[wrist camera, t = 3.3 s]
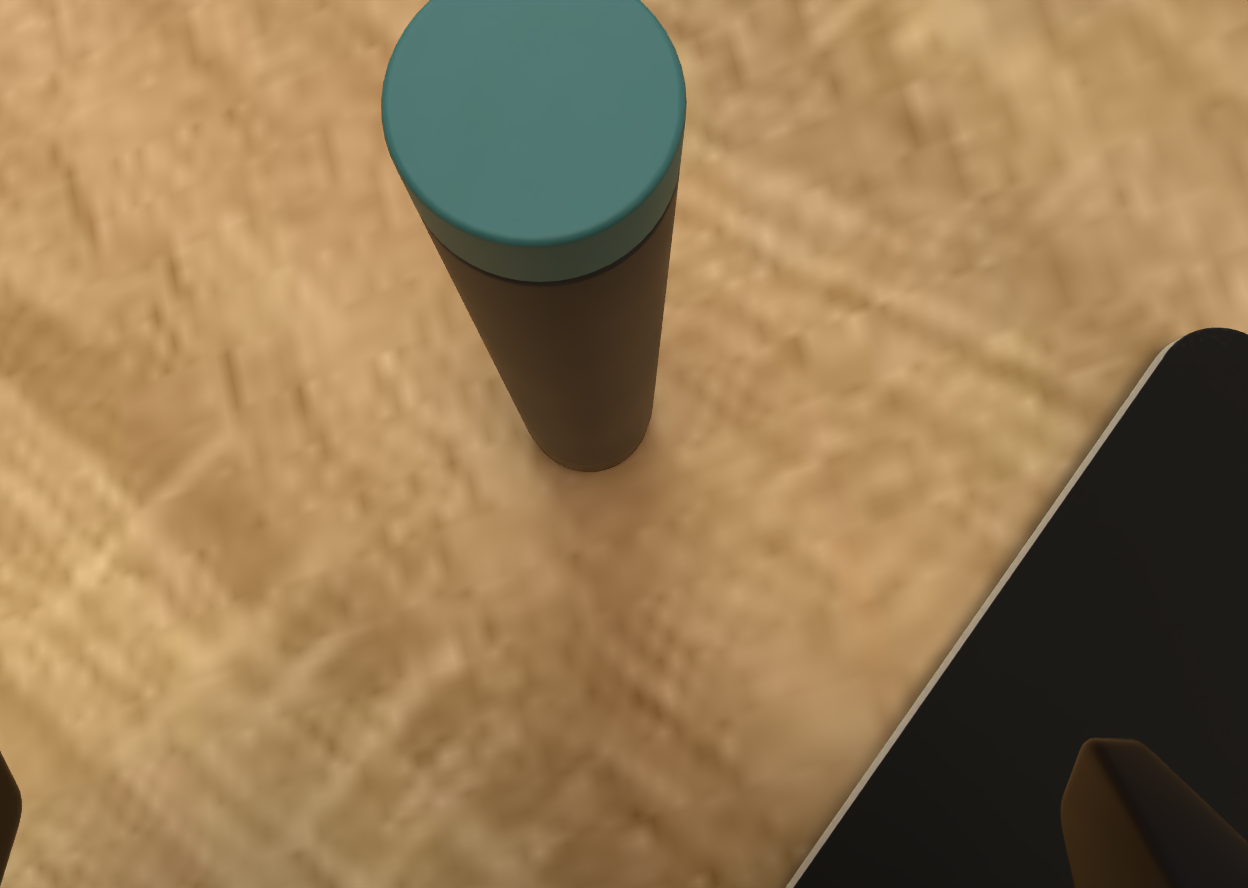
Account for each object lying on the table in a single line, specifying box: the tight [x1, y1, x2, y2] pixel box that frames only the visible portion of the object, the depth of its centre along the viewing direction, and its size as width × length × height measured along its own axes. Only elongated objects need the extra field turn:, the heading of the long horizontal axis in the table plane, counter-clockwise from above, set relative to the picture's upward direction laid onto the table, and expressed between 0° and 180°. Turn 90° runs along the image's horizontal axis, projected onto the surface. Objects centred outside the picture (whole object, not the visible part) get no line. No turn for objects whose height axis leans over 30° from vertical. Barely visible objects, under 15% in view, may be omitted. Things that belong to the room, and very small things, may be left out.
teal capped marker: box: [381, 0, 687, 472], centre depth 15 cm, size 2×2×13 cm
